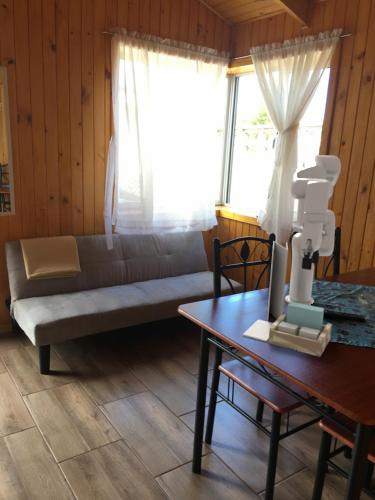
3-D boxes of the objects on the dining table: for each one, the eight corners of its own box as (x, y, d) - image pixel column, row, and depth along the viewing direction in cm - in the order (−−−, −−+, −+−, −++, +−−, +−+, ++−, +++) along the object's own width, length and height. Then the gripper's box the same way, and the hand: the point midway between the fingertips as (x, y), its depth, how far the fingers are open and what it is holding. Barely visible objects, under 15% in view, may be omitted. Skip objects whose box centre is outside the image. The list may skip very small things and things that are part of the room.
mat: (258, 320, 165) (258, 319, 165) (280, 326, 161) (280, 324, 161) (242, 335, 152) (242, 334, 152) (266, 341, 147) (266, 340, 147)
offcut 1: (280, 338, 151) (281, 321, 149) (296, 342, 148) (298, 325, 146) (276, 342, 147) (278, 325, 146) (293, 346, 145) (295, 329, 143)
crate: (281, 327, 159) (283, 313, 158) (330, 339, 151) (331, 323, 149) (268, 343, 146) (269, 327, 145) (320, 356, 138) (322, 340, 136)
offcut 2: (300, 343, 147) (302, 326, 146) (317, 347, 144) (319, 330, 143) (297, 347, 144) (299, 330, 142) (315, 352, 141) (317, 334, 139)
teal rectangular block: (288, 331, 157) (291, 301, 154) (320, 339, 151) (324, 308, 148) (284, 335, 153) (287, 304, 150) (317, 343, 147) (321, 312, 145)
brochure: (281, 324, 163) (288, 250, 155) (267, 322, 164) (273, 248, 156) (281, 310, 176) (287, 242, 169) (267, 309, 177) (273, 241, 170)
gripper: (310, 213, 150) (305, 259, 154) (297, 219, 136) (292, 269, 140) (331, 215, 147) (326, 262, 151) (320, 222, 132) (314, 273, 136)
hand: (310, 265), depth 145 cm, fingers open, 9 cm apart
